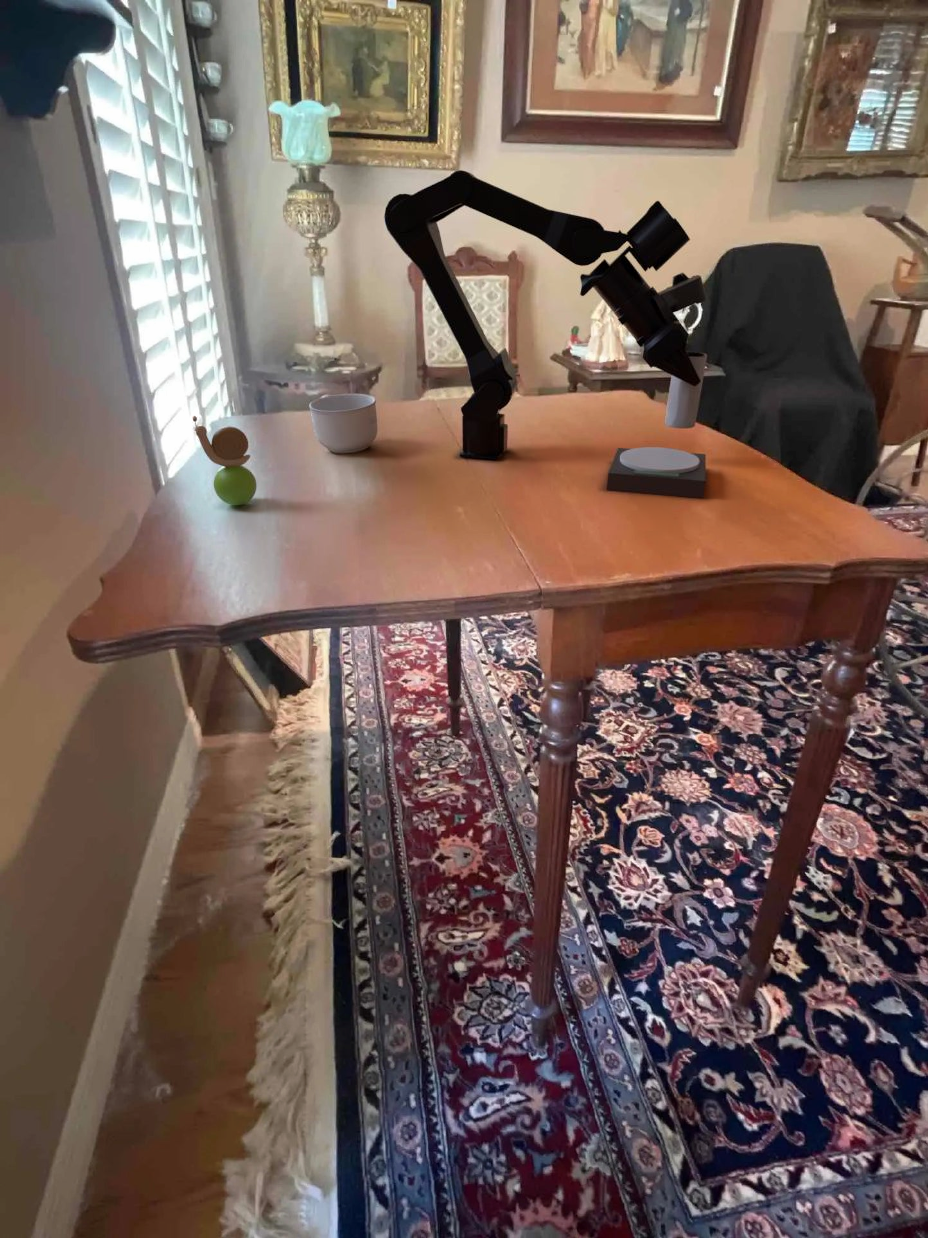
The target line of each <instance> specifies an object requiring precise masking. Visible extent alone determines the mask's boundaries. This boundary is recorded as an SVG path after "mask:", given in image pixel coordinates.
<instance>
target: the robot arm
mask: <svg viewBox="0 0 928 1238" xmlns="http://www.w3.org/2000/svg"><path fill="white" fill-rule="evenodd" d="M463 207H466V208H470V209H472V210H474V211H476V212H479V213H480V214H483V215H485V216H487V217H490V218H492V219H495V220H497V221H499V222H501V223H503V224H506V225H507V226H510V227H513V228H515V229H518V230H520V231H521V232H524V233H526V234H529V235H531V236H534V237H536V238H537V239H539V240H540V241H542V242H543V243H544V244H546V245H547V246H548V247H549V248H551V249H552V250H553V251H555V252H556V253H558V254H559V255H560V256H562V257H563V258H565V259H566V260H568V261H569V262H571V263H572V264H574V265H576V266H580V267H586V266H589V265H591V264H594V263H596V262H597V261H598V260H599V259H600V258H601V256H602V255H603V254H607V253H612V252H617V251H618V250H620V249H621V248H622V247H623V246H624V245H625V244H627V243H628V244H629V245H628V246H627V247H626V248H624V249H623V251H622V252H621V253H620V254H619V255H617V257H616V258H614V260H613V261H611V262H610V263H609V262H608V261H607V260H606V258H604V259H603V260H602V261H601V262H599V264H598V265H597V266H596V267H595V268H594V269H593V270H592V271H590V273H589V274H588V273H581V274H580V275H579V279H580V291H579V295H580V296H581V297H585V296H586V295H587V294H588V293H589V292H590V291H591V290H592V289H594V290H595V291H596V293H597V294H598V295H599V296H600V298H601V299H602V300H603V301H604V302H605V304H606V305H607V306H608V307H609V309H610V310H611V311H612V312H613V314H614V315H615V316H616V317H617V320H618V322H619V323H620V324H621V325H622V326H624V328H625V329H626V330H627V331H628V332H629V333H630V335H631V336H632V338H633V339H634V340H635V343H636V344H637V345H638V346H639V348H641V357H642V359H643V360H644V362H645V363H646V364H647V365H648V366H649V368H650V369H652V368H656V369H658V370H660V371H663V372H665V373H666V374H669V375H671V376H672V375H673V376H675V377H677V378H679V379H681V380H683V381H685V382H687V383H689V384H691V385H693V386H697V385H698V384H699V383H700V382H701V380H700V378H699V376H698V374H697V372H696V370H695V368H694V366H693V364H692V362H691V360H690V358H689V356H688V354H687V352H686V351H687V345H688V340H689V336H690V333H689V332H688V331H687V329H686V328H685V327H684V326H683V324H682V323H681V322H680V319H679V318H678V317H677V316H676V314H675V313H676V312H679V311H681V310H685V309H686V308H688V307H691V306H693V305H695V304H696V305H699V304H701V303H704V302H705V301H707V300H708V298H707V294H706V290H705V286H704V282H703V279H702V275H699V274H696V275H692V276H691V277H688V275H686V274H685V273H684V272H680V273H678V274H676V275H674V276H672V278H671V279H672V280H671V285H670V286H668V287H666V288H665V289H663V290H660V291H659V292H658V291H657V290H656V288H655V287H654V286H653V285H652V286H650V285H649V284H648V282H647V281H646V280H645V279H644V277H643V275H641V273H640V272H639V270H638V269H637V268H636V267H635V266H634V264H633V263H632V262H631V261H630V259H629V258H628V257H627V255H628V254H629V253H630V254H631V256H632V258H634V259H635V261H636V262H637V264H638V265H639V266H640V267H641V268H642V270H643V271H644V272H647V271H648V270H651V269H652V268H653V270H655V272H657V271H658V270H660V269H661V268H662V267H663V266H664V265H665V264H666V263H667V262H668V261H669V260H671V258H672V257H674V255H676V253H678V252H679V251H680V250H682V248H683V247H684V246H685V245H686V244H687V243H689V242H690V240H691V239H690V237H689V235H688V234H687V232H686V230H685V229H684V227H683V226H682V225H681V223H680V222H679V221H678V220H677V218H676V217H675V218H674V217H673V216H672V215H671V213H669V211H668V210H667V209H666V208H665V207H664V205H663V204H662V202H661V201H660V200H655V202H654V203H653V204H652V205H650V206H649V208H648V210H647V211H646V212H645V213H644V215H643V216H642V217H640V219H639V220H638V221H637V222H635V224H634V225H633V226H632V227H631V228H630V229H629V230H628V231H626V232H625V233H624V232H622V231H621V230H620V229H619V230H618V231H613V230H607V229H605V228H604V226H603V225H602V224H601V223H600V222H599V221H597V220H596V219H594V218H590V217H586V216H581V215H577V214H571V213H567V212H562V211H559V210H558V211H557V210H554V209H553V210H552V209H548V208H546V207H544V206H542V205H539V204H537V203H535V202H532V201H530V200H528V199H526V198H524V197H521V196H518V195H516V194H514V193H512V192H510V191H508V190H505V189H503V188H500V187H498V186H496V185H493V184H491V183H489V182H487V181H485V180H482V179H481V178H478V177H476V176H475V175H474V174H473V173H471V172H469V171H467V170H462V169H459V170H455V171H454V172H452V173H450V175H449V176H447V177H445V178H444V179H441V180H439V181H437V182H435V183H433V184H431V185H429V186H426V187H425V188H422V189H420V190H418V191H416V192H414V193H413V194H410V193H399V194H396V195H395V196H393V197H392V198H391V199H390V200H389V201H388V202H387V205H386V206H385V210H384V215H383V222H384V226H385V228H386V230H387V231H388V234H389V235H390V236H391V238H392V239H393V240H394V241H395V243H396V245H398V247H399V248H400V250H401V251H402V252H403V253H404V254H405V255H406V257H408V259H410V260H411V261H412V262H413V263H414V264H415V266H416V267H417V268H418V270H419V271H420V274H421V276H422V277H423V279H424V281H425V283H426V285H427V287H428V289H429V291H430V292H431V294H432V297H433V298H434V301H435V302H436V305H437V306H438V308H439V311H440V312H441V314H442V316H443V318H444V319H445V322H446V324H447V325H448V327H449V330H450V331H451V334H452V335H453V337H454V339H455V341H456V343H457V344H458V347H459V348H460V350H461V352H462V354H463V356H464V360H465V363H466V368H467V372H468V377H469V381H470V383H471V387H472V390H473V393H472V394H471V395H470V396H469V397H468V398H467V400H466V401H465V402H464V403H463V405H462V406H461V407H460V411H461V412H460V413H461V414H462V416H461V423H462V424H461V427H462V430H461V431H462V434H461V435H462V439H461V440H462V449H461V451H460V452H459V453H458V454H459V455H458V456H459V457H461V458H469V459H470V458H471V459H482V460H495V461H496V460H499V459H500V458H501V457H502V456H503V454H504V453H505V452H506V451H507V449H508V433H509V431H508V429H509V424H507V423H505V419H506V417H505V416H506V415H505V413H500V411H502V409H504V408H505V407H507V406H508V404H509V403H510V401H511V400H512V398H513V396H514V395H515V394H516V390H517V386H518V380H517V376H516V375H517V373H518V369H517V368H515V366H514V365H513V363H512V362H511V359H510V355H509V352H508V350H507V348H503V349H502V350H501V351H500V352H498V351H497V350H496V348H495V347H493V345H491V343H490V341H489V340H488V339H487V336H486V334H485V332H484V330H483V327H482V326H481V324H480V321H479V320H478V318H477V316H476V314H475V312H474V310H473V308H472V306H471V305H470V302H469V301H468V298H467V296H466V295H465V292H464V290H463V288H462V286H461V284H460V282H459V280H458V278H457V276H456V274H455V272H454V271H453V268H452V266H451V264H450V263H449V261H448V259H447V256H446V253H445V251H444V246H443V242H442V241H443V240H442V237H441V231H440V228H439V225H438V222H440V221H442V220H444V219H445V218H446V217H448V216H450V215H451V214H453V213H455V212H457V211H458V210H459V209H461V208H463Z"/></svg>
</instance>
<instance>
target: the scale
mask: <svg viewBox="0 0 928 1238" xmlns="http://www.w3.org/2000/svg"><path fill="white" fill-rule="evenodd" d="M706 455H707V454H705V453H695V452H689V451H684V450H681V449H676V448H669V447H657V446H646V447H644V446H643V447H634V448H627V447H617V449H616V452H615V455H614V458H613V460H612V462H611V465H610V467H609V469H608V472H607V479H606V480H607V481H606V491H614V492H615V491H616V492H625V493H638V494H649V495H659V496H672V497H682V498H693V499H703V498H704V494H705V493H704V492H705V487H706V483H707V482H706V478H707V477H706V476H707V475H706V474H707V473H706V470H707V469H706V468H707V467H706V466H707V465H706V464H707V463H706V459H707V458H706Z"/></svg>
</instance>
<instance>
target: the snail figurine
mask: <svg viewBox="0 0 928 1238" xmlns="http://www.w3.org/2000/svg"><path fill="white" fill-rule="evenodd" d="M192 421H193V423H194V425H195V427H194V432H195V435H196V436H197V438H198V440H199V443H200V445H201V448H202V450H203V451H204V454H205V455H206V456H207V458H208V459H209V460H210V461H211V462H212V463H214V464H216V465H218V466H221V468H219V470H217V472H216V474H215V475H214V478H213V488H214V489H213V490H214V492H215V493H216V496H217V498H219V499H220V500H221V501H222V502H223V503H225V504H227V505H231V506H243V505H245V504H247V503H249V502H250V501H251V500H252V499H253V497H254V496H255V494H256V492H257V480H256V477H255V475H254V474H253V472H252V471H251V470H250V469H249V468H248V467H246V466H244V464H246V463H247V462H249V459H250V458H251V454H246V453H247V452H248V449H249V440H248V437H247V435H246V434H245V432H243V431H242V429H239V428H238V427H234V426H223V427H220V428H219V429H217V430H216V431H215V432H214V434H213V435H212V438H211V441H210V440H209V437H208V431H207V428H206V427H205V426H204V425H202V424H199V425H197V424H196V422H198V417H197V416H196V415H193V416H192Z"/></svg>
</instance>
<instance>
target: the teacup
mask: <svg viewBox="0 0 928 1238" xmlns="http://www.w3.org/2000/svg"><path fill="white" fill-rule="evenodd" d="M376 403H377V400H376V398H375V396H372V395H370V394H365V393H340V394H333V395H330V394H323V395H321V397H319V398H317V399H314V400H313V401H311V402H310V403H309V406H308V407H309V411H310V415H311V421H312V426H313V430H314V435H315V438H316V440H317V442H318V443H319V444H320V445H321V446H322V447H324V448H325V449H327V450H328V451H330V452H332V453H335V454H353V453H358V452H362V451H363V450H364V451H365V450H366V449H367V448H368V447H369V446H370V445H371V443H373V442H374V441H375V439H376V438H377V435H378V416H377V406H376Z"/></svg>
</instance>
